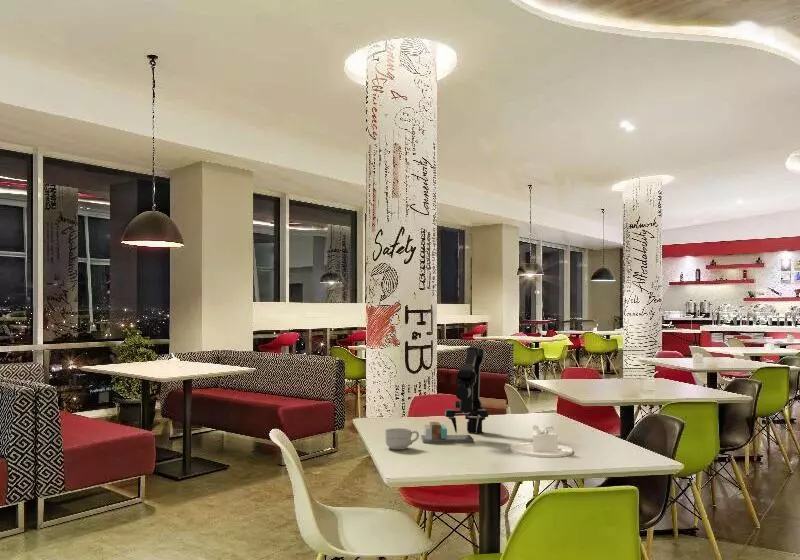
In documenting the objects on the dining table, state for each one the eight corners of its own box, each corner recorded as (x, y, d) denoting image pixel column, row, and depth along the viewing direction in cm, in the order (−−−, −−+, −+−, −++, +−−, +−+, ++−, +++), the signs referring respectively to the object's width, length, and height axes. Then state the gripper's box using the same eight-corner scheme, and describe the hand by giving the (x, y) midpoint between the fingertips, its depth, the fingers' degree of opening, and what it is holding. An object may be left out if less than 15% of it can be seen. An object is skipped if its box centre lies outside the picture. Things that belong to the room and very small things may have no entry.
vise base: (469, 438, 290) (469, 424, 290) (473, 442, 280) (473, 428, 280) (421, 438, 288) (421, 424, 289) (423, 442, 278) (423, 428, 279)
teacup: (381, 450, 263) (381, 430, 264) (390, 445, 273) (390, 426, 274) (413, 452, 258) (413, 432, 259) (421, 447, 269) (422, 428, 269)
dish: (583, 457, 254) (582, 428, 255) (522, 459, 250) (522, 429, 251) (557, 444, 278) (557, 418, 279) (502, 446, 274) (502, 419, 275)
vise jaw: (444, 434, 289) (444, 424, 289) (446, 438, 279) (446, 428, 279) (438, 434, 289) (438, 424, 289) (441, 438, 279) (441, 428, 279)
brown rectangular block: (438, 435, 288) (438, 421, 288) (440, 438, 280) (440, 424, 280) (429, 435, 288) (429, 421, 288) (431, 438, 280) (431, 424, 280)
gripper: (484, 394, 294) (484, 429, 293) (443, 394, 293) (443, 429, 292) (488, 398, 283) (488, 434, 282) (446, 398, 282) (446, 434, 281)
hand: (466, 432), depth 285 cm, fingers open, 9 cm apart
